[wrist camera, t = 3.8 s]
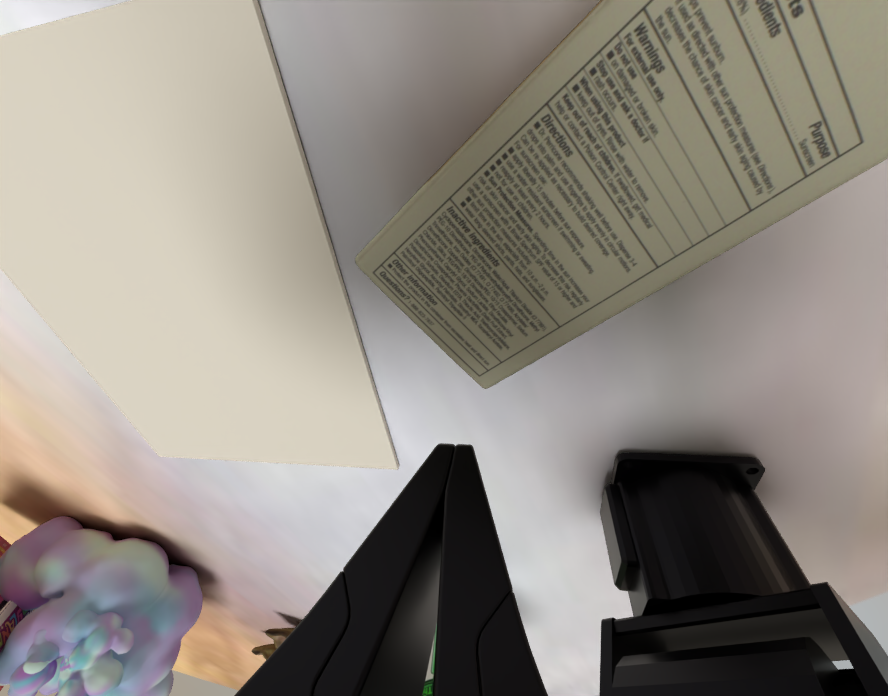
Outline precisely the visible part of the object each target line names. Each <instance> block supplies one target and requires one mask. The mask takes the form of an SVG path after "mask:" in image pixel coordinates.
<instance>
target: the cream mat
mask: <svg viewBox="0 0 888 696" xmlns="http://www.w3.org/2000/svg"><path fill="white" fill-rule="evenodd" d="M0 269H1V270H2V271H3V272H4V273H5V275H6V276H7V277H8V278H9V279H10V281H11V282H12V283H13V284H14V285H15V286H16V288H17V289H18V290H19V291H20V292H21V294H22V295H23V296H24V297H25V298H26V300H27V301H28V302H29V303H30V304H31V305H32V307H33V308H34V309H35V310H36V311H37V313H38V314H39V315H40V316H41V317H42V318H43V320H44V321H45V322H46V323H47V324H48V326H49V327H50V328H51V329H52V330H53V332H54V333H55V334H56V335H57V336H58V337H59V339H60V340H61V341H62V342H63V343H64V345H65V346H66V347H67V348H68V349H69V350H70V352H71V353H72V354H73V355H74V356H75V358H76V359H77V360H78V361H79V362H80V364H81V365H82V366H83V367H84V368H85V369H86V371H87V372H88V373H89V374H90V375H91V377H92V378H93V379H94V380H95V381H96V382H97V384H98V385H99V386H100V387H101V388H102V390H103V391H104V392H105V393H106V394H107V396H108V397H109V398H110V399H111V400H112V401H113V403H114V404H115V405H116V406H117V407H118V409H119V410H120V411H121V412H122V413H123V415H124V416H125V417H126V418H127V419H128V420H129V422H130V423H131V424H132V425H133V426H134V428H135V429H136V430H137V431H138V432H139V433H140V435H141V436H142V437H143V438H144V439H145V441H146V442H147V443H148V444H149V445H150V447H151V448H152V449H153V450H154V451H155V452H156V454H157V455H158V456H159V457H176V458H195V459H213V460H231V461H250V462H268V463H286V464H305V465H323V466H341V467H360V468H378V469H396V470H398V468H399V463H398V460H397V457H396V453H395V450H394V447H393V444H392V440H391V437H390V434H389V430H388V427H387V424H386V421H385V417H384V414H383V411H382V407H381V404H380V401H379V398H378V394H377V391H376V388H375V384H374V381H373V378H372V375H371V371H370V368H369V365H368V361H367V358H366V355H365V352H364V348H363V345H362V342H361V338H360V335H359V332H358V329H357V325H356V322H355V319H354V315H353V312H352V309H351V306H350V302H349V299H348V296H347V292H346V289H345V286H344V283H343V279H342V276H341V273H340V269H339V266H338V263H337V260H336V256H335V253H334V250H333V246H332V243H331V240H330V237H329V233H328V230H327V227H326V223H325V220H324V217H323V214H322V210H321V207H320V204H319V200H318V197H317V194H316V191H315V187H314V184H313V181H312V177H311V174H310V171H309V168H308V164H307V161H306V158H305V154H304V151H303V148H302V145H301V141H300V138H299V135H298V132H297V128H296V125H295V122H294V118H293V115H292V112H291V109H290V105H289V102H288V99H287V95H286V92H285V89H284V86H283V82H282V79H281V76H280V72H279V69H278V66H277V63H276V59H275V56H274V53H273V49H272V46H271V43H270V40H269V36H268V33H267V30H266V26H265V23H264V20H263V17H262V13H261V10H260V7H259V3H258V0H131V1H128V2H124V3H120V4H116V5H113V6H109V7H105V8H102V9H98V10H94V11H90V12H87V13H83V14H79V15H75V16H72V17H68V18H64V19H61V20H57V21H53V22H49V23H46V24H42V25H38V26H34V27H31V28H27V29H23V30H19V31H16V32H12V33H8V34H5V35H1V36H0Z"/></svg>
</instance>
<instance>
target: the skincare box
mask: <svg viewBox="0 0 888 696" xmlns="http://www.w3.org/2000/svg"><path fill="white" fill-rule="evenodd" d="M887 158H888V0H601V1H600V2H599V3H598V4H597V5H596V6H595V7H594V8H593V9H592V10H591V11H590V12H589V14H588V15H587V16H586V17H585V18H584V19H583V20H582V21H581V22H580V23H579V24H578V25H577V26H576V27H575V28H574V29H573V30H572V31H571V32H570V33H569V34H568V35H567V37H566V38H565V39H564V40H563V41H562V42H561V43H560V44H559V45H558V46H557V47H556V48H555V49H554V50H553V51H552V52H551V53H550V54H549V55H548V56H547V57H546V58H545V59H544V60H543V61H542V62H541V63H540V64H539V65H538V66H537V68H536V69H535V70H534V71H533V72H532V73H531V74H530V75H529V76H528V77H527V78H526V79H525V80H524V81H523V82H522V83H521V84H520V85H519V86H518V87H517V88H516V89H515V90H514V91H513V93H512V94H511V95H510V96H509V97H508V98H507V99H506V100H505V101H504V102H503V103H502V104H501V105H500V106H499V107H498V108H497V110H496V111H495V112H494V113H493V114H492V115H491V116H490V117H489V118H488V119H487V120H486V121H485V122H484V123H483V124H482V125H481V126H480V128H479V129H478V130H477V131H476V132H475V133H474V134H473V135H472V136H471V137H470V138H469V139H468V140H467V141H466V142H465V143H464V144H463V145H462V146H461V147H460V148H459V149H458V150H457V151H456V152H455V153H454V154H453V155H452V156H451V157H450V159H449V160H448V161H447V162H446V163H445V164H444V165H443V166H442V167H441V168H440V169H439V170H438V171H437V172H436V173H435V174H434V175H433V176H432V177H431V178H430V179H429V180H428V181H427V182H426V183H425V184H424V185H423V186H422V187H421V188H420V189H419V190H418V191H417V193H416V194H415V195H414V196H413V197H412V198H411V199H410V200H409V201H408V202H407V203H406V204H405V205H404V206H403V208H402V209H401V210H400V211H399V212H398V213H397V214H396V215H395V216H394V217H393V218H392V219H391V220H390V221H389V222H388V223H387V225H386V226H385V227H384V228H383V229H382V230H381V231H380V232H379V233H378V234H377V235H376V236H375V237H374V238H373V239H372V240H371V241H370V242H369V243H368V244H367V245H366V246H365V248H364V249H363V250H362V251H361V252H360V253H359V254H358V255H357V256H356V258H355V262H356V264H357V266H358V267H359V268H360V269H361V270H362V271H363V272H364V273H365V274H366V275H367V276H368V277H369V278H370V279H371V280H372V281H373V282H374V283H375V284H376V285H377V286H378V287H379V288H380V289H381V290H382V291H383V292H384V293H385V294H386V295H387V296H388V297H389V298H390V299H391V300H392V301H393V302H394V303H395V304H396V305H397V306H398V307H399V308H400V309H401V310H402V311H403V312H404V313H405V314H406V315H407V316H408V317H409V318H410V319H411V320H412V321H413V322H414V323H415V324H417V325H418V326H419V327H420V328H421V329H422V330H423V331H424V332H425V333H426V334H427V335H428V336H429V337H430V338H431V339H432V340H433V341H434V342H435V343H436V344H437V345H438V346H439V347H440V348H441V349H442V350H443V351H444V352H445V353H446V354H447V355H448V356H449V357H450V358H452V359H453V360H454V361H455V362H456V363H457V364H458V365H459V366H460V367H461V368H462V369H463V370H464V371H465V372H466V373H467V374H468V375H470V376H471V377H472V378H473V379H474V380H475V381H476V382H477V383H478V384H479V385H480V386H481V387H482V388H484V389H487V388H489V387H491V386H493V385H495V384H497V383H498V382H500V381H502V380H503V379H505V378H507V377H509V376H510V375H512V374H514V373H516V372H517V371H519V370H521V369H522V368H524V367H526V366H528V365H530V364H532V363H533V362H535V361H536V360H538V359H540V358H542V357H543V356H545V355H547V354H549V353H550V352H552V351H554V350H556V349H557V348H559V347H561V346H562V345H564V344H566V343H567V342H569V341H571V340H573V339H575V338H576V337H578V336H580V335H582V334H583V333H585V332H587V331H589V330H590V329H592V328H594V327H595V326H597V325H599V324H601V323H602V322H604V321H606V320H607V319H609V318H611V317H613V316H615V315H616V314H618V313H620V312H622V311H623V310H625V309H627V308H629V307H630V306H632V305H634V304H635V303H637V302H639V301H641V300H642V299H644V298H646V297H647V296H649V295H651V294H653V293H654V292H656V291H658V290H660V289H661V288H663V287H665V286H667V285H668V284H670V283H672V282H673V281H675V280H677V279H679V278H680V277H682V276H684V275H685V274H687V273H689V272H691V271H693V270H695V269H696V268H698V267H700V266H701V265H703V264H705V263H707V262H708V261H710V260H712V259H714V258H716V257H717V256H719V255H721V254H722V253H724V252H726V251H728V250H730V249H731V248H733V247H734V246H736V245H738V244H740V243H741V242H743V241H745V240H746V239H748V238H750V237H752V236H753V235H755V234H757V233H759V232H760V231H762V230H764V229H766V228H767V227H769V226H771V225H772V224H774V223H776V222H778V221H779V220H781V219H783V218H785V217H787V216H789V215H790V214H792V213H794V212H795V211H797V210H799V209H800V208H802V207H804V206H806V205H807V204H809V203H811V202H813V201H814V200H816V199H818V198H820V197H821V196H823V195H825V194H826V193H828V192H830V191H832V190H833V189H835V188H837V187H839V186H840V185H842V184H844V183H846V182H847V181H849V180H851V179H853V178H854V177H856V176H858V175H860V174H861V173H863V172H865V171H867V170H868V169H870V168H872V167H873V166H875V165H877V164H879V163H880V162H882V161H884V160H886V159H887Z"/></svg>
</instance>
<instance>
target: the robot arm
mask: <svg viewBox="0 0 888 696" xmlns="http://www.w3.org/2000/svg"><path fill="white" fill-rule="evenodd" d="M764 472H765V468H764V467H763V465H762V464H761V462H760V461H759V460H758V459H756V458H752V457H728V456H702V455H676V454H651V453H621V454H619V455H618V456H617V457H616V459H615V464H614V469H613V474H612V479H611V484H607V485H606V486H605V488H604V493H603V499H602V504H601V510H600V515H601V520H602V525H603V530H604V535H605V540H606V545H607V550H608V555H609V560H610V565H611V570H612V575H613V580H614V584H615V586H616V587H617V588H618V589H619V590H623V591H628V593H629V598H630V602H631V607H632V611H633V616H634V617H629V618H623V619H617V620H616V619H615V618H608V619H602V622H601V663H600V696H888V656H887V654H886V653H885V651H884V650H883V648H882V647H881V645H880V644H879V643H878V641H877V640H876V638H875V637H874V635H873V634H872V633H871V632H870V631H869V629H868V628H867V627H866V626H865V625H864V624H863V622H862V621H861V620H860V619H859V618H858V617H857V616H856V615H855V613H854V612H853V611H852V610H851V609H850V608H849V606H848V605H847V604H846V603H845V602H844V601H843V600H842V598H841V597H840V596H839V595H838V594H837V593H836V592H835V590H834V589H833V588H832V587H831V586H830V585H829V584H828V582H824V583H818V584H812V585H811V584H810V583H809V581H808V579H807V578H806V576H805V574H804V573H803V571H802V569H801V568H800V566H799V564H798V563H797V561H796V559H795V558H794V556H793V554H792V553H791V551H790V549H789V548H788V546H787V544H786V543H785V541H784V539H783V538H782V536H781V534H780V533H779V531H778V529H777V528H776V526H775V524H774V523H773V521H772V519H771V518H770V516H769V514H768V513H767V511H766V509H765V508H764V506H763V505H762V503H761V501H760V500H759V498H758V496H757V495H756V493H755V491H754V490H755V488H756V486H757V484H758V483H759V481H760V479H761V477H762V475H763V473H764ZM343 570H344V572H343V571H342V572H340V573H339V574H338V576H337V577H336V578H335V580H334V581H333V582H332V584H331V585H330V586H329V588H328V589H327V590H326V592H325V593H324V594H323V595H322V597H321V598H320V599H319V600H318V602H317V603H316V604H315V605H314V607H313V608H312V609H311V610H310V612H309V613H308V614H307V615H306V616H305V618H304V619H303V620H302V621H301V622H300V623H299V624H298V626H297V627H296V628H295V629H294V630H293V631H292V632H291V634H290V635H289V636H288V637H287V638H286V639H285V640H284V642H283V643H282V644H281V645H280V646H279V647H278V648H277V649H276V650H275V651H274V653H273V654H272V655H271V656H270V657H269V658H268V659H267V660H266V661H265V662H264V664H263V665H262V666H261V667H260V668H259V669H258V670H257V671H256V672H255V673H254V675H253V676H252V677H251V678H250V679H249V680H248V681H247V682H246V683H245V684H244V686H243V687H242V688H241V689H240V690H239V691H238V692H237V693H236V695H235V696H422V695H423V690H424V685H425V680H426V675H427V670H428V665H429V660H430V655H431V650H432V645H433V640H434V635H435V630H436V625H437V630H436V647H435V664H434V681H433V696H548V694H547V692H546V689H545V687H544V684H543V682H542V679H541V676H540V673H539V671H538V668H537V665H536V663H535V660H534V657H533V654H532V652H531V649H530V646H529V643H528V639H527V636H526V633H525V630H524V626H523V623H522V620H521V617H520V613H519V610H518V606H517V602H516V599H515V595H514V593H513V590H512V585H511V581H510V578H509V574H508V571H507V567H506V563H505V560H504V556H503V553H502V549H501V545H500V542H499V538H498V535H497V531H496V527H495V524H494V520H493V517H492V513H491V509H490V506H489V502H488V499H487V495H486V491H485V488H484V484H483V481H482V477H481V473H480V470H479V466H478V462H477V459H476V455H475V452H474V448H473V446H472V445H465V444H457V445H456V446H455V445H454V444H438V445H437V446H436V447H435V448H434V450H433V451H432V452H431V454H430V455H429V456H428V458H427V459H426V460H425V462H424V463H423V464H422V466H421V467H420V468H419V470H418V471H417V472H416V473H415V475H414V476H413V477H412V479H411V480H410V481H409V483H408V484H407V485H406V487H405V488H404V489H403V491H402V492H401V493H400V495H399V496H398V497H397V498H396V500H395V501H394V502H393V504H392V505H391V506H390V508H389V509H388V510H387V512H386V513H385V514H384V516H383V517H382V518H381V520H380V521H379V522H378V523H377V525H376V526H375V527H374V529H373V530H372V531H371V533H370V534H369V535H368V537H367V538H366V539H365V541H364V542H363V543H362V545H361V546H360V547H359V548H358V550H357V551H356V552H355V554H354V555H353V556H352V558H351V559H350V560H349V562H348V563H347V564H346V566H345V567H344V569H343ZM840 660H850V662H851V664H852V666H853V668H854V669H840V670H838V669H837V668H836V666H835V665H834V664H833V663H832V661H840Z"/></svg>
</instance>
